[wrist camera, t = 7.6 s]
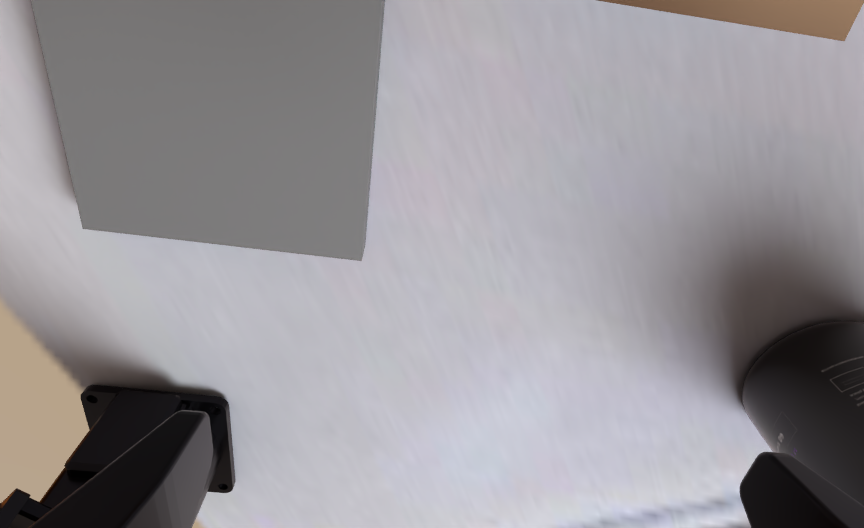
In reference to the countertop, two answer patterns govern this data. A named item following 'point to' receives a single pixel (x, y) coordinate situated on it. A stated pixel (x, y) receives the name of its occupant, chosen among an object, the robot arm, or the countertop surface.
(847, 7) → the walnut board
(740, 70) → the countertop surface
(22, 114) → the countertop surface
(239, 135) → the trivet
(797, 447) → the supplement bottle
